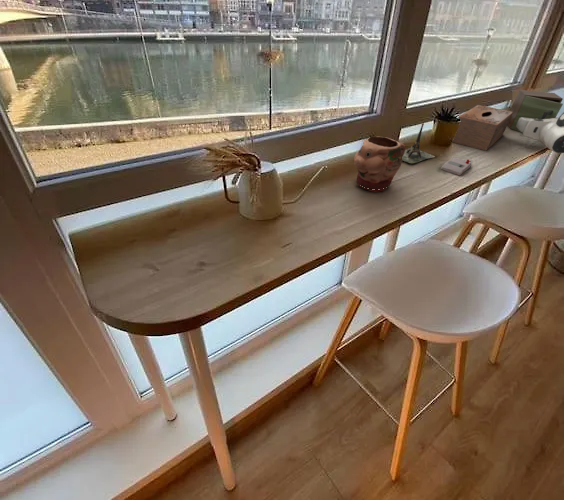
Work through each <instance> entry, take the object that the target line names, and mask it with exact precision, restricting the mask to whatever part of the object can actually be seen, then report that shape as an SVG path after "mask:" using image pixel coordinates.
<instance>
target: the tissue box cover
mask: <svg viewBox="0 0 564 500" xmlns="http://www.w3.org/2000/svg"><path fill="white" fill-rule="evenodd" d="M512 114H513V112H511V111H510V110H505V109H500V108H497V107H491V106H486V105H481V104H476V105H475V106H473V107H472V108H470V109H469V110H467V111H465V112H463V113H462V114H460V115H458V116H457V119H458V118H459V119H460V120H461V122H460V125H459V128H458V131H457V133H456V136H455V138H454V140H452V142H451V143H454V144H459V145H463V146H466V147H471V148H474V149H477V150H481V151H485V152H487V151H488V150H489V149H490V148H491V147H492V146H493V145H494V144H495V143H496V142H498V140H500V138H501V137H503V136H504V134H505V131H506V129H507V126H508V123H509V120H510V118H511V116H512Z"/></svg>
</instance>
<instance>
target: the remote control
mask: <svg viewBox="0 0 564 500" xmlns="http://www.w3.org/2000/svg"><path fill="white" fill-rule="evenodd" d="M472 164H473V163H472V159H463V158H458V157H452V158H450V159H449V160H448V161H446V162H445V163H443V164H442V166H441V168H440V170H442V171H444V172H448V173H451V174H454V175H457V176H461V175H462V174H464V173H465V172H466V171H467V170H469V169H470V168H471V166H472Z"/></svg>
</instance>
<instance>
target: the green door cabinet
mask: <svg viewBox="0 0 564 500" xmlns="http://www.w3.org/2000/svg"><path fill="white" fill-rule="evenodd" d="M525 96H530V97H535V98H539V99H544V100H548V101H553V102H558V103H562V102H563V100H564V98H563V97H562V96H560V95H558V94H557V93H555V92H549V91H540V90H539V91H537V90H527V89H519V90H518V92H517V94H516V95H515V99H514V100H513V103H512V105H511V107H510V109H509V111H511V112H513V114H512V116H511V118H510V120H509V123H508V125H507V126H508V128H509V129H510V128H511V126H512V124H513V122H514V120H515V118H516V115H517V113H518V111H519V109H520V107H521V105H522V103H523V100H524V98H525Z"/></svg>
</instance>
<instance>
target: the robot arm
mask: <svg viewBox="0 0 564 500" xmlns="http://www.w3.org/2000/svg"><path fill="white" fill-rule="evenodd" d="M516 127H517V128H518V130H519V131H518V132H520V131H521V132H520V133H522V136H523V137H526V138H529V139H534V140H536V141H538V142H541V143H542V144H543V145H544V146H545V147H546V148H547V149H549V150H550V151H552V152H553V153H557V154H564V112H563V113H561V114H560V116H558V118H557V117H556V118H551V119H532V118H523V117H521V118H519V120H518V122H517V125H516Z"/></svg>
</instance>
